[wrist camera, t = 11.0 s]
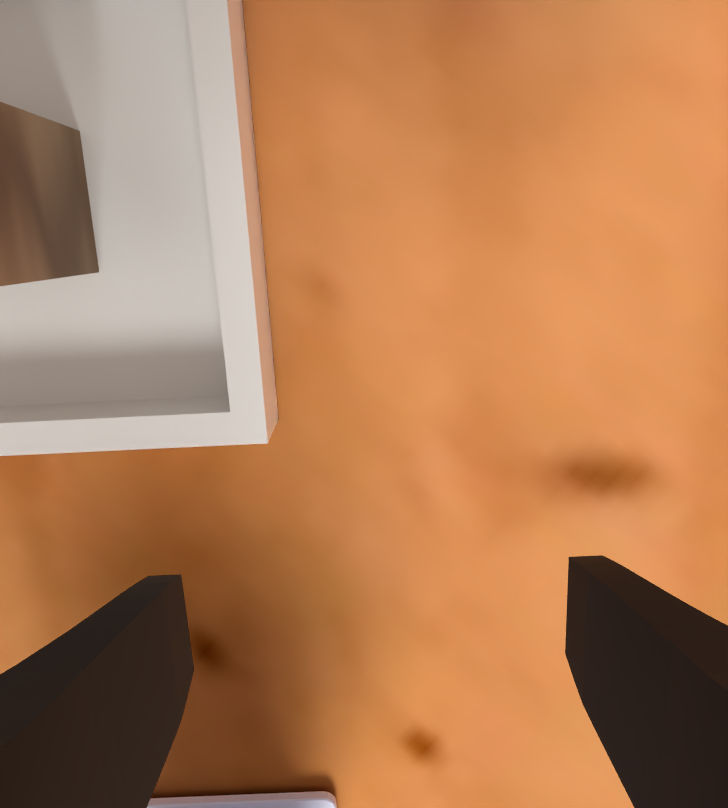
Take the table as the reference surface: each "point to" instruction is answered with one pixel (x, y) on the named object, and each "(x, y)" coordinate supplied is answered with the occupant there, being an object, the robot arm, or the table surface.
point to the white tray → (142, 234)
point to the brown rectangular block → (42, 200)
